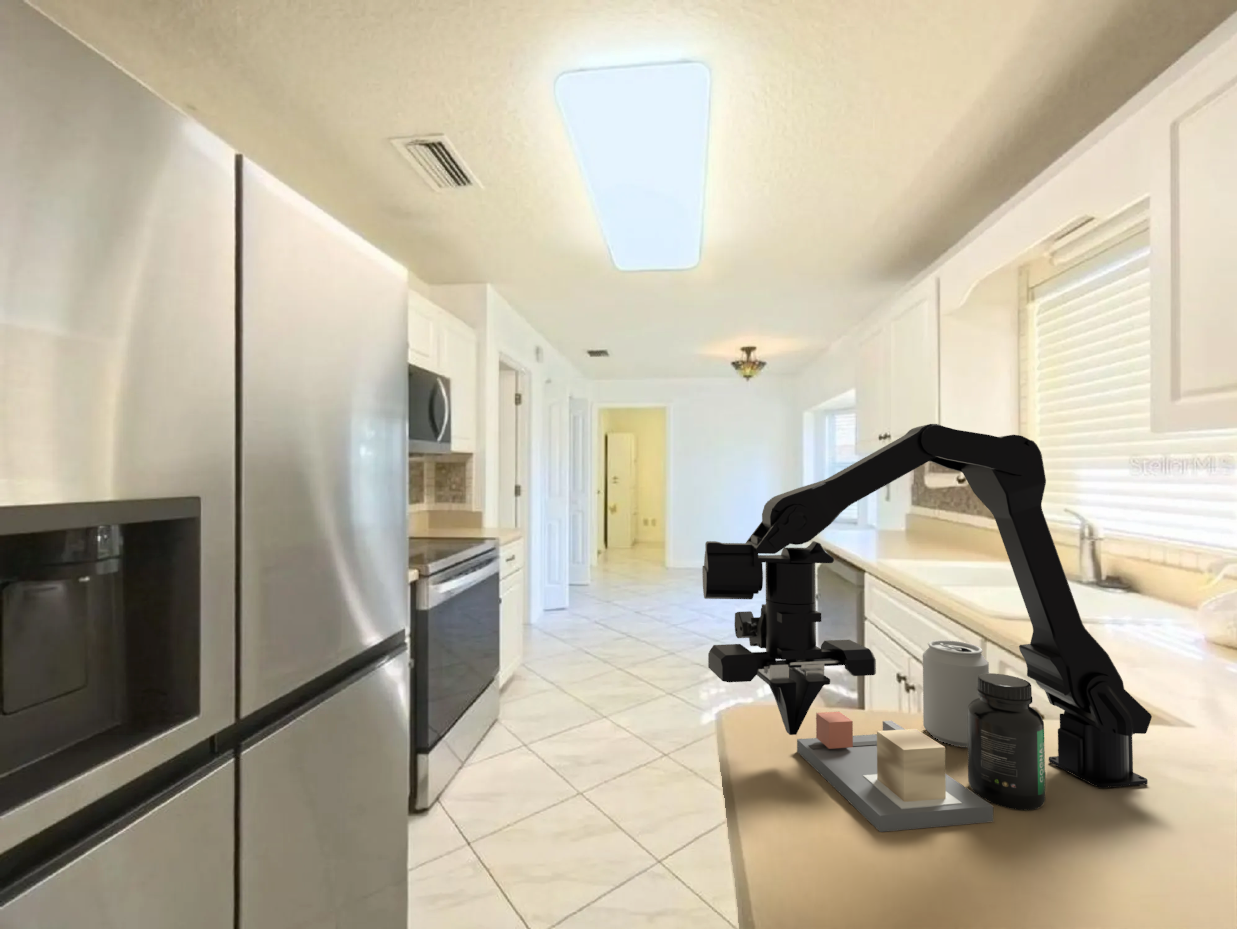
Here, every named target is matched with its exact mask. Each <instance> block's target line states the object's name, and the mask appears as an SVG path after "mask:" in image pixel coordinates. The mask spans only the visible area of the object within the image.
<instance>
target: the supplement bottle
mask: <svg viewBox="0 0 1237 929" xmlns="http://www.w3.org/2000/svg"><path fill="white" fill-rule="evenodd" d="M1032 692H1033V691H1032V684H1031V682H1029V681H1028V680H1026V679H1023V678H1020V677H1019V676H1018V677H1017V676H1013V675H1010V674H1009V675H1008V674H1003V673H994V672H993V673H990V672H989V673H985V674H980V675H978V687H977V694H978V695H979V696H980V698H977V699H975V700H973V701H972V702H971V703H970V704H969V706H968V709H967V730H968V747H967V774H968V776H967V778H968V785H969V787H970V788H971V789H970V790H971V791H972V792H973V793H975V794H976V795H978V796H979V797H981V798H982V799H984V800H985V801H986V802H988V803H990V804H991V803H992V804H993V805H997V806H999V807H1003V808H1008V809H1010V810H1011V809H1012V810H1016V811H1034V810H1035V811H1036V810H1037V809H1039V808H1042V807H1043V805H1045V802H1046V770H1045V769H1046V765H1045V763H1046V761H1045V760H1046V758H1045V754H1046V753H1045V752H1046V751H1045V724H1044V720H1043V717H1042V715H1041V714H1040V713H1039V712H1038V711H1037V710H1036V709H1035V708H1033V707H1032V706H1030V705H1031V704H1033V696H1032Z"/></svg>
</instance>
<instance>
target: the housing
mask: <svg viewBox="0 0 1237 929" xmlns="http://www.w3.org/2000/svg"><path fill="white" fill-rule="evenodd" d="M876 734H877V779H878V780H879V781H880V782H881V783H882V784H884V785H885V786H886V787H887V788H888V789H890V790H891V791H892V792H893V793H894V794H896V795H897V796H898V797H899V798H900V799H902V800H903V801H904V802H908V801H920V800H933V799H945V798H946V780H945V774H946V747H945V746H944V745H942V744H941V743H939V742H937V741H936V740H934V738H931V737H929V736H928V735H926V734H925V733H923V732H921V731H920V730H919V729H917V728H909V729H906V728H904V730H887V731H883V730H877V731H876Z"/></svg>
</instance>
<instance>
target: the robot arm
mask: <svg viewBox="0 0 1237 929" xmlns="http://www.w3.org/2000/svg"><path fill="white" fill-rule="evenodd" d="M929 462H930V463H932V464H935V465H937V466H939V467H942V468H945V469H949V470H953V471H956V472H959V473H962V475H963V476H964V478H965V479H966V481H967V483H968V485H969V487H970V488H971V491H972V492H973V494H974V495H975V496H976V497H977V498H978V500H979V501H981V503H982V504H983V505H984V506H985V507H986V508H987V509H988V511H989V512H990V513H991V514H992V515H993V518H994V521H995V524H996V526H997V529H998V531H999V535H1000V537H1001V539H1002V543H1003V546H1004V549H1005V553H1006V554H1007V558H1008V561H1009V563H1010V566H1011V569H1012V572H1013V574H1014V577H1015V580H1016V583H1017V586H1018V588H1019V592H1020V595H1021V597H1022V600H1023V603H1024V607H1025V608H1026V611H1027V614H1028V617H1029V619H1030V623H1031V625H1032V635H1031V639H1030V643H1028V644H1027V643H1025V644H1020V645H1019V646H1018V648H1019V653H1020V654H1021V656H1022V658H1023V659H1024V661H1025V664H1026V665H1025V666H1026V669H1027V670H1026V676H1027V677H1028V678H1030V679H1032V680H1034V681H1035V683H1036V684H1037V685H1038V687H1039V688H1040V689H1042V690H1043V691H1044V692H1045V694H1046V697H1047V700H1048V701H1049V702H1048V703H1050V705H1052V706H1054V707H1057V708H1059V709H1060V710H1062V711H1063V713H1059V727H1058V728H1057V756H1055V755H1054V756H1049V757H1048V762H1049V763H1050V764H1053V765H1054V766H1056V767H1059V768H1060V769H1062V770H1064V771H1066V772H1068V773H1070V774H1072V775H1073V776H1075V777H1078V778H1079V779H1081V780H1083V781H1085V782H1087V783H1088V784H1091V785H1093V786H1094V787H1097V788H1101V789H1102V788H1104V789H1105V788H1114V787H1115V788H1116V787H1117V788H1119V787H1128V786H1140V785H1148V783H1149V782H1148V779H1147V778H1146V777H1144V776H1141V775H1140V774H1138V773H1136V772H1134V763H1133V762H1134V761H1133V760H1134V758H1133V757H1134V756H1133V751H1134V750H1133V735H1135V734H1136V735H1137V734H1140V735H1143V734H1147V732H1148V730H1149V727H1150V723H1151V721H1152V717H1153V716H1152V713H1150V712H1149V711H1148V710H1147V709H1146V708H1145V707H1144V706H1143V705H1141V703H1140V702H1138V701H1137V699H1135V697H1133V696H1132V695H1131V694H1130V692H1128V691H1127V690H1126V689H1125V685H1124V681H1123V679H1122V677H1121V675H1120V672H1119V671H1118V669H1117V668H1116V666H1115V664H1114V662H1113V661H1112V659H1111V657H1110V655H1109V653H1108V652H1107V651H1106V650H1105V649H1104V648H1103V647H1102V645H1101V644H1100V643H1099V642H1098V641H1097V640H1096V638H1094V637H1093V635H1092V634H1091V633H1090V632H1089V631H1088V630H1087V629H1086V627H1085V625H1084V624H1083V621H1082V619H1081V616H1080V613H1079V610H1078V607H1077V604H1076V601H1075V599H1074V594H1073V593H1072V589H1071V587H1070V584H1069V582H1068V579H1067V576H1066V573H1065V571H1064V568H1063V565H1062V562H1061V560H1060V559H1061V558H1060V557H1059V554H1058V551H1057V548H1056V545H1055V542H1054V539H1053V537H1052V534H1051V530H1050V529H1049V526H1048V522H1047V520H1046V516H1045V514H1044V511H1043V507H1042V503H1043V498H1044V495H1045V494H1044V493H1045V489H1046V484H1047V479H1046V477H1047V476H1046V472H1045V466H1044V460H1043V454H1042V451H1041V449H1040V448H1039V446H1038V444H1037V443H1036V442H1035V441H1034V440H1032V439H1029V438H1027V437H1025V436H1023V435H1019V434H1008V435H1001V436H996V435H991V434H986V433H980V432H974V431H968V430H967V431H966V430H961V429H955V428H951V427H948V426H945V425H944V426H943V425H941V424H939V423H928V424H925V425H920V426H916V427H913V428H911V429H909V430H908V431H907V432H906V433H905V434H904V435H903V436H901V437H899V438H897V439H895V440H894V441H892V442H890V443H888V444H887V445H885V446H883V447H881V448H879V449H877V450H876V451H874V452H872V453H869V455H867V456H865V457H863V458H861V459H860V460H857V461H856V462H854V463H852V464H850V465H849V466H847V467H845V468H844V469H842V470H840V471H838V472H836V473H835V474H833V475H831V476H829V477H827V478H825V479H823V480H819V481H818V482H814V483H811V484H807V485H803V486H801V487H797V488H794V489H792V490H790V491H786V492H783V493H781V494H778V495H775V496H773V497H771V498H769V500H767V502H766V503H765V504H764V505H763V506H764V507H763V509H762V513H761V522H759V525H758V526H757V527H756V528H755V529H754V531H753V532H752V534H751V535H750V536H749V538H748V539H747V540H746V541H745V542H744V543H743V542H740V543H738V542H735V543H734V542H720V541H715V540H714V541H711V540H709V541H706V542H705V545H704V546H705V550H704V556H703V557H704V558H703V559H704V562H703V564H704V565H702V567H701V568H702V569H701V570H702V573H701V574H702V575H701V576H702V592H703V593H702V594H703V598H704V599H706V600H709V599H710V600H711V599H712V600H753V599H754V595H755V594H756V595H757V594H758V595H759V592H761V591H762V589H763V582H764V572H763V569H764V568H763V563H765V603H762V604H761V607H760V616H758V617H754V613H753V611H751V610H750V611H749V610H748V611H737V612H734V632H735V633H734V634H735V637H736V638H737V639H749V640H748V641H749V646H750V647H758V648H760V649H765V651H755V652H753V651H751V650H749V649H748V648H746V647H745V646H744V645H743V644H741V643H732V644H730V643H729V644H713V645H712V647H711V648H710V649H709V652H708V657H707V659H708V660H707V662H708V663H707V667H708V669H709V670H710V671H712V672H713V674H714V675H716V677H718V678H719V680H721V681H722V682H724V683H743V682H745V683H746V682H752V681H753V680H754V679H755V677H756V676H757V677H759V679H761V680H762V681H763V682H765V683H766V684H767V685H768V687H769V688H770V690H771V693H772V694H773V696H774V697H773V698H774V699H775V703H776V705H777V708H778V712H779V713H780V717H781V720H782V723H783V725H784V728H785V731H786V733H787V734H788V735H789V736H794V735H796V736H797V734H798V732H799V730H800V728H801V727H802V724H803V722H804V719H805V718H806V717H807V714H808V712H809V710H810V708H811V706H812V704H813V703H814V702H815V699H816V698H817V697H818V695H819V693H820V692H821V690H822V689H823V687H824V686H828V685H830V684H831V679H830V678H829V677H828V676H826V675H825V667H836V666H844V669H845V670H846V671H847V672H848V674H850V675H852V676H853V677H864V676H875V675H876V674H877V668H876V667H877V663H876V662H877V661H876V660H877V659H876V657H875V655H874V653H873V652H872V650H870V648H867V647H866V646H864V645H861V644H859V643H857V642H855V641H853V640H851V639H834V640H833V639H832V640H831V639H830V640H824V641H823V642H822V643H821V645H820V647H819V646H817V623H821V622H822V612H820V611H818V610H816V609H817V608H816V607H817V604H816V601H817V600H816V597H817V596H816V594H817V593H816V589H817V588H816V587H817V586H816V585H817V584H816V564H832V563H834V562H835V559H834V556H831V555H830V554H829V552H827V551H826V550H825V549H824V548H823V546H822V544H821V543H820V542H819V541H815V540H813V539H814V538H815V537H817V536H818V535H820V533H822V532H823V531H824V530H826V528H828V526H830V525H831V524H832V523H833V522H834V521H835V520H836V519H837V518H838V517H839V516H840V515H841V514H842V513H843V511H845V510H846V509H847V508H849V506H851V505H853V504H855V503H856V502H859V501H861V500H862V499H863V498H864V499H865V497H867V496H869V495H871V494H873V493H874V492H876V491H878V490H881V489H882V488H884V487H885V486H887V485H890V483H892V482H894V481H896V480H898V479H900V478H901V477H903V476H905V475H907V474H908V473H910V472H912V471H914V470H916V469H918V468H919V467H921V466H923V465H925V464H926V463H929ZM811 540H813V541H812V542H811V543H810V544H809V545H808V546H807V547H788V546H789V545H796V546H797V545H798V546H799V545H804V544H806V543H808V542H810V541H811ZM780 551H781V552H780ZM779 552H780V553H781V554H777V553H779ZM762 554H763V555H762Z"/></svg>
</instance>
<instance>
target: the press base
mask: <svg viewBox="0 0 1237 929" xmlns="http://www.w3.org/2000/svg"><path fill="white" fill-rule="evenodd" d="M904 729H905V728H904V727H903V726H901V725H899V724H897V723H896V722H894V721H893V720H882V731H887V730H904ZM796 752H797V753H798V754H799V755H800V756H801V757H802V758H803V759H804V760H805V761H806V762H807V763H808V764H810V766H811V767H813V769H815V771H817V772H818V773H819V774H820V775H821V776H822V777H823V779H825V780H826V781H827V782H828V783H829V784H830V785H831V786H832V787H833V788H834V789H835V790H836V791H837V792H838V793H839V794H840V795H841V796H843V798H844V799H845V800H847V801H848V802H849V804H851V805H852V806H853V808H854V809H856V810H857V811H858V812H859V813H860V814H861V815H862V816H863V817H864V818H865V819H866V820H867V821H868V822H869V823H870V824H871V825H872V826H873V827H874V828H875V829H876V830H877V831H878V832H879V833H882V832H883V833H885V832H896V831H897V832H898V831H907V830H915V829H917V830H918V829H928V828H939V827H949V826H960V825H969V824H970V825H972V824H973V825H974V824H982V823H983V824H984V823H994V805H992V804H991V803H990V802H989V801H987V800H985V799H983V798H981V797H980V796H978V795H977V794H976V793H975V792H974V791H973V790H971V789H969V788H968V787H966V786H965V785H963V784H961V783H960V782H959V781H957V780H956V779H954V778H953V777H951V776H950V775H948V774H947V773H945V780H946V798H945V799H933V800H920V801H908V802H904V801H903V800H902V799H900V798H899V797H898V796H897V795H896V794H894V793H893V792H892V791H891V790H890V789H888V788H887V787H886V786H885V785H884V784H882V783H881V782H880V781H879V780H878V779H877V733H876V734H874V733H873V734H861V735H859V734H858V735H857V734H856V735H853V747H848V748H833V749H829V748H828V747H826V746H825V745H824V744H823V743H822V742H821V741H819V740H818V739H817V738H816V737H812V738H811V737H808V738H797V739H796Z"/></svg>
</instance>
